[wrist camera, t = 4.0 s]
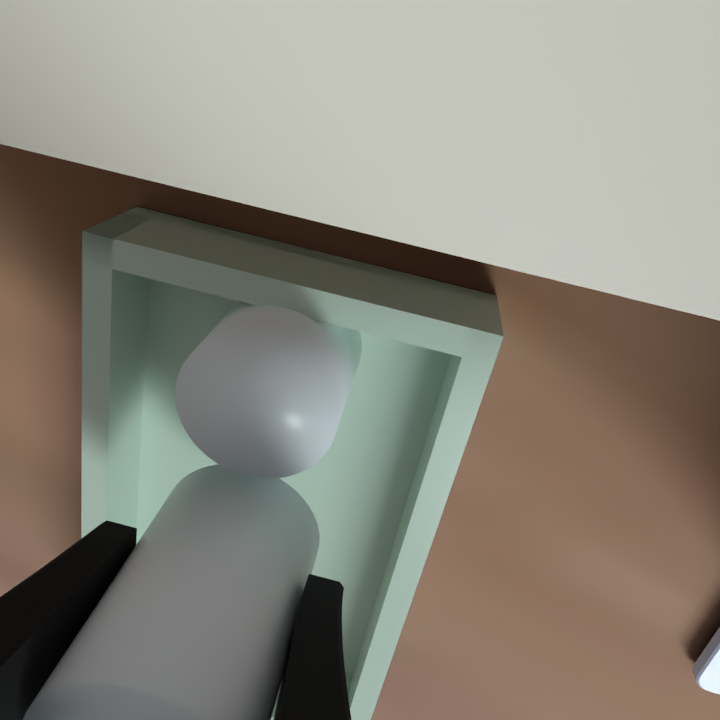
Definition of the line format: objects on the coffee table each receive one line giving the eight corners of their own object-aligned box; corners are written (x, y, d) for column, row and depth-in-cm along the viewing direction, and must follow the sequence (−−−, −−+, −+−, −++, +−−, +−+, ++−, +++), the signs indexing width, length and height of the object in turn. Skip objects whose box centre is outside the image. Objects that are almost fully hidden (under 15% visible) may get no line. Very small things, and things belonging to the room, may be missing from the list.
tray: (496, 295, 13) (509, 368, 10) (368, 683, 19) (350, 805, 16) (136, 206, 13) (39, 249, 10) (119, 616, 19) (53, 722, 16)
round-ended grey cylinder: (309, 603, 14) (241, 856, 10) (164, 569, 14) (31, 803, 10) (329, 484, 12) (260, 718, 8) (167, 448, 13) (10, 659, 8)
